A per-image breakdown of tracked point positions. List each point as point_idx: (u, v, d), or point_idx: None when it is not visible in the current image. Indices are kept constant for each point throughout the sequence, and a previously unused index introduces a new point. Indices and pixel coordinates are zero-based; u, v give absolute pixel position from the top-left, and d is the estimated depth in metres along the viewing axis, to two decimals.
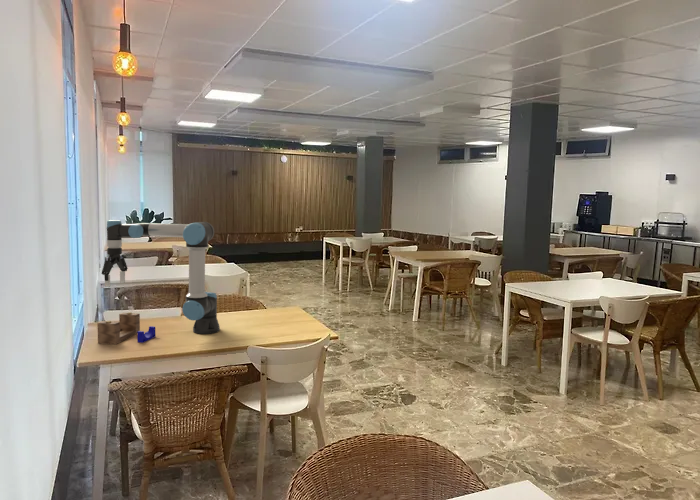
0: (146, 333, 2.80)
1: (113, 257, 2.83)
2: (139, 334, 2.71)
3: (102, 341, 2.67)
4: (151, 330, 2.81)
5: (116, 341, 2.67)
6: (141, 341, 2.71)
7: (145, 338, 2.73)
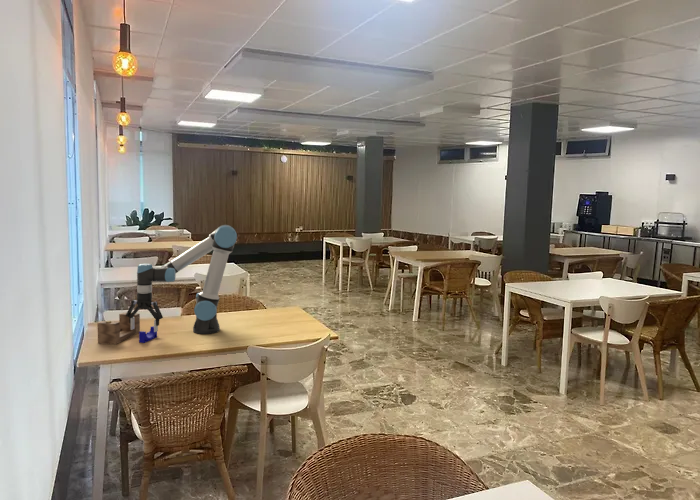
0: (148, 333, 2.80)
1: (138, 302, 2.74)
2: (141, 334, 2.71)
3: (102, 341, 2.67)
4: (153, 330, 2.80)
5: (116, 341, 2.67)
6: (143, 341, 2.71)
7: (147, 338, 2.73)
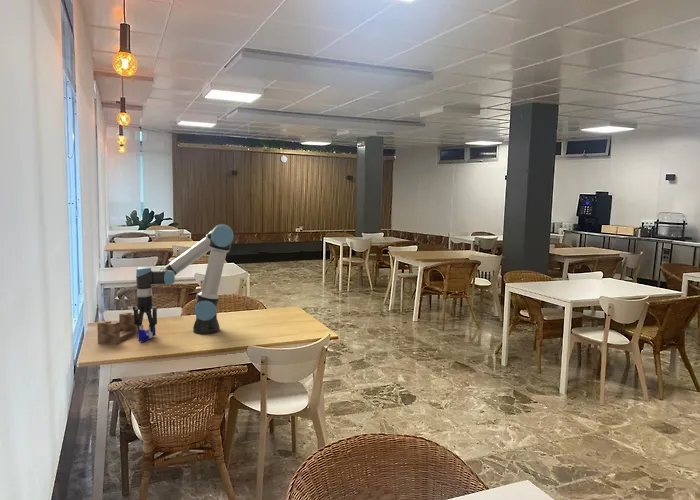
0: (146, 331, 2.80)
1: (138, 305, 2.74)
2: (140, 332, 2.71)
3: (102, 341, 2.67)
4: None
5: (116, 341, 2.67)
6: (142, 339, 2.71)
7: (146, 336, 2.73)
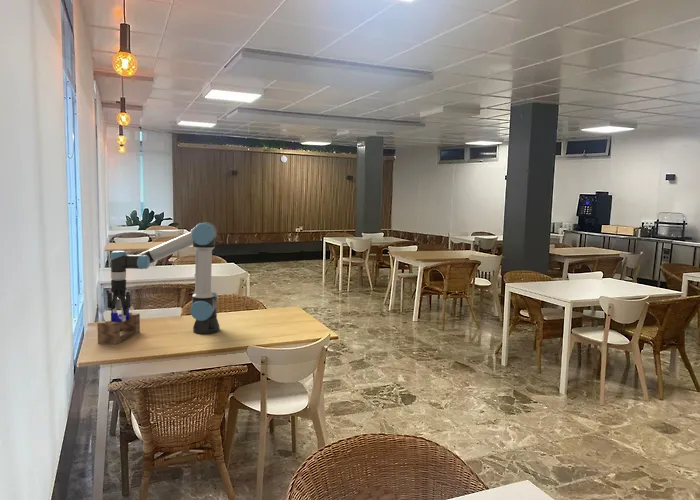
0: (119, 315, 2.81)
1: (112, 288, 2.75)
2: (113, 315, 2.71)
3: (102, 341, 2.67)
4: None
5: (116, 341, 2.67)
6: None
7: (119, 319, 2.74)
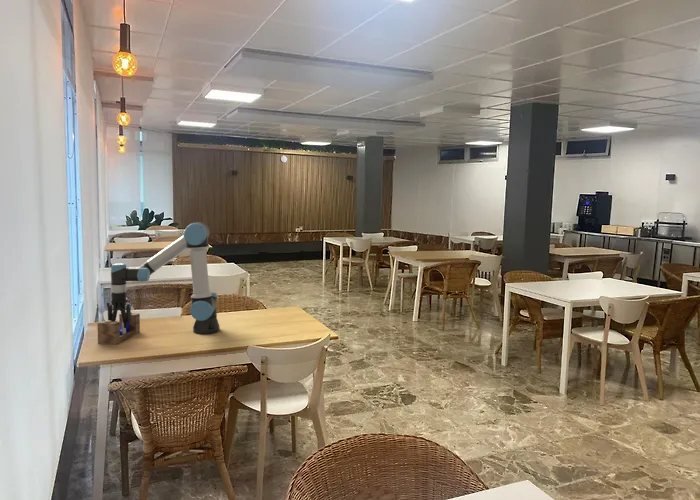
0: (120, 327, 2.81)
1: (112, 301, 2.76)
2: None
3: (102, 341, 2.67)
4: None
5: (116, 341, 2.67)
6: None
7: None
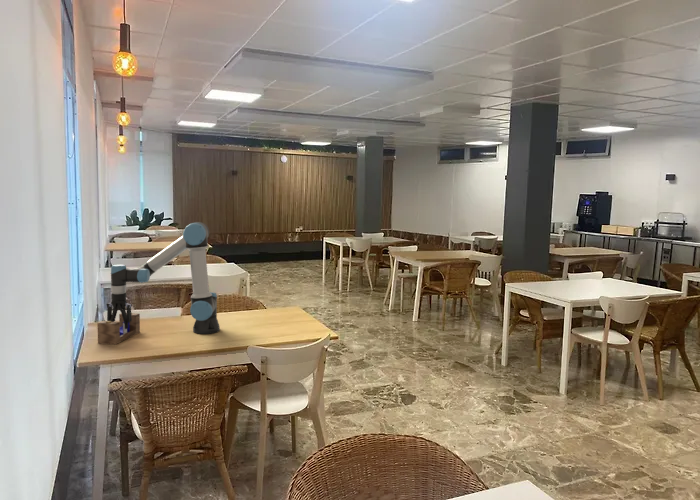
0: (120, 328, 2.81)
1: (113, 302, 2.76)
2: None
3: (102, 341, 2.67)
4: None
5: (116, 341, 2.67)
6: None
7: None
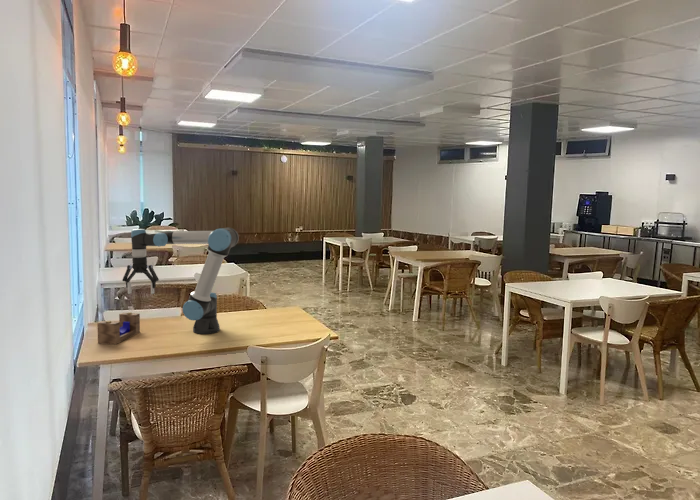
0: (120, 328, 2.81)
1: (134, 266, 2.84)
2: None
3: (102, 341, 2.67)
4: (125, 325, 2.82)
5: (116, 341, 2.67)
6: None
7: None
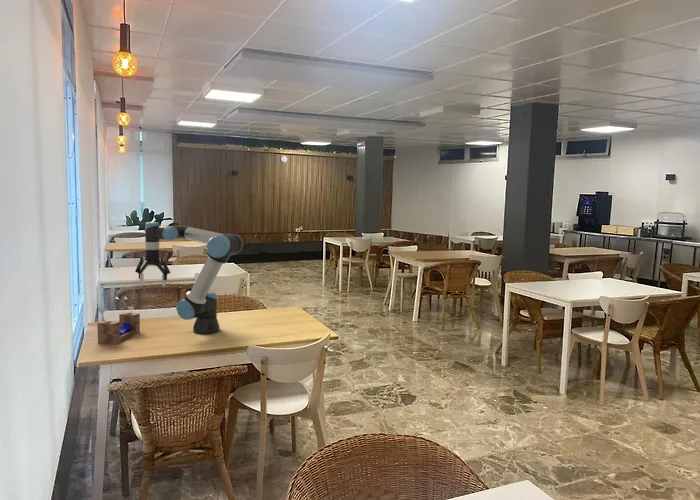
0: (120, 328, 2.81)
1: (147, 258, 2.90)
2: None
3: (102, 341, 2.67)
4: (126, 325, 2.82)
5: (116, 341, 2.67)
6: None
7: (120, 333, 2.75)
